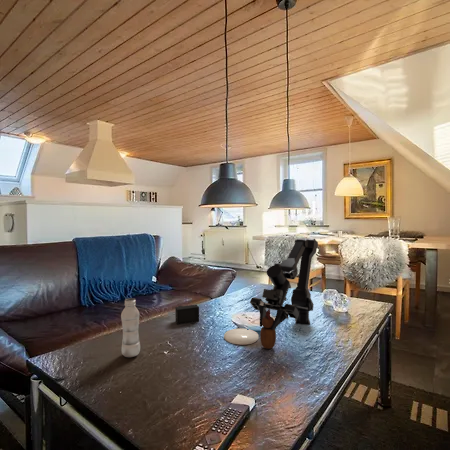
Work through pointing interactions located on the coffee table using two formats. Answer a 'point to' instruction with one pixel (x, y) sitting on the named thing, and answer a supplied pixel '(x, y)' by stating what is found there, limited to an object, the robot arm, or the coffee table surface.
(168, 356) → the coffee table surface
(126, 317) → the plastic bottle
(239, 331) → the ceramic plate
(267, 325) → the wooden figurine
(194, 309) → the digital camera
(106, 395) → the coffee table surface
